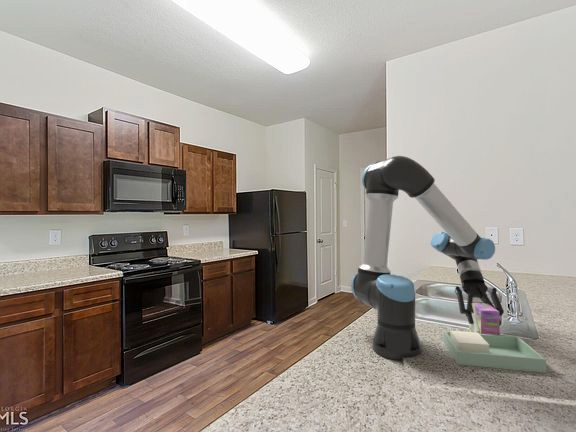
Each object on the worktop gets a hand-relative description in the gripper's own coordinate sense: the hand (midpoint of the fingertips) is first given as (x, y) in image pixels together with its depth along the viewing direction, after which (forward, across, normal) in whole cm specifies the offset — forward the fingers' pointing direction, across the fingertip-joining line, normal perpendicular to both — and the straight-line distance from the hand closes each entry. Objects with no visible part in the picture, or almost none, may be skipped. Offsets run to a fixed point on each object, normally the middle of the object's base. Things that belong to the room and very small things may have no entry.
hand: (487, 333), depth 100 cm
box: (0, 0, -5) cm, 5 cm away
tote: (+10, +4, +5) cm, 12 cm away
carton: (+10, +9, +6) cm, 14 cm away
